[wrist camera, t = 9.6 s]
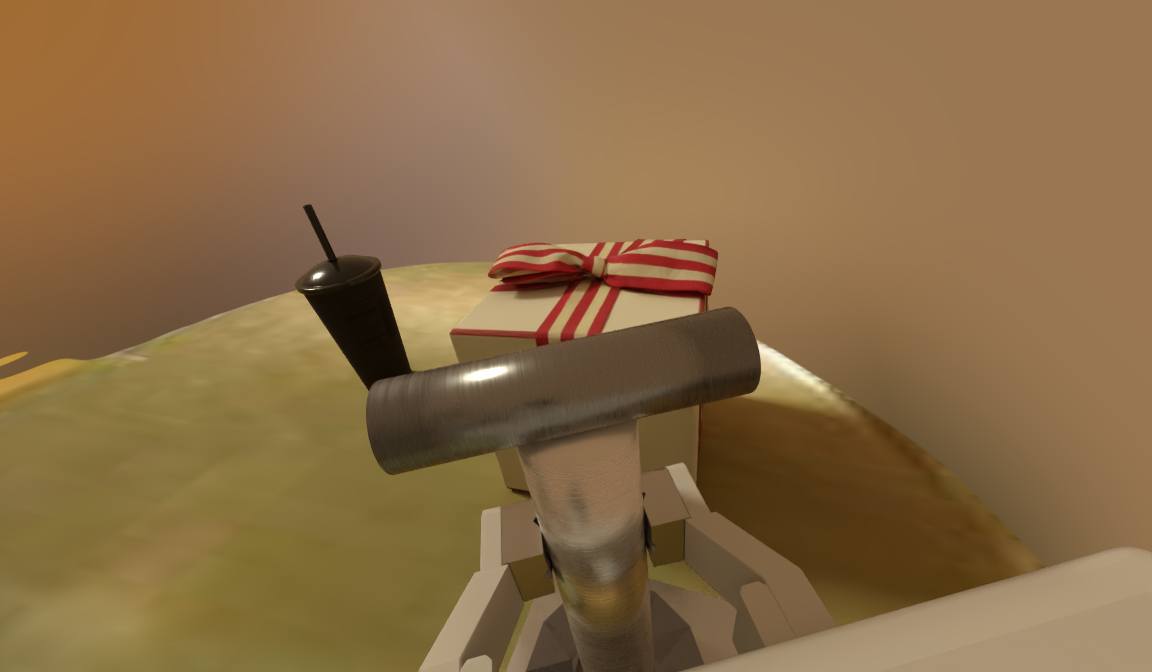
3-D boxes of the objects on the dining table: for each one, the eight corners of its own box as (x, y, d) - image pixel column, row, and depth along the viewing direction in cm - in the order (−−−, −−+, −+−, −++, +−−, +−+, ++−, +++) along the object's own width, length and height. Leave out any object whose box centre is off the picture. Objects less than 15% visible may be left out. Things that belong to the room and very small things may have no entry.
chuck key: (694, 596, 16) (709, 284, 9) (726, 675, 14) (779, 348, 7) (520, 643, 16) (384, 350, 8) (525, 733, 14) (349, 442, 6)
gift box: (701, 362, 43) (708, 193, 34) (715, 526, 28) (734, 303, 19) (544, 360, 47) (512, 208, 38) (483, 503, 32) (405, 309, 23)
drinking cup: (412, 353, 52) (343, 189, 41) (434, 380, 46) (361, 199, 36) (348, 382, 48) (255, 211, 37) (364, 415, 43) (260, 225, 32)
